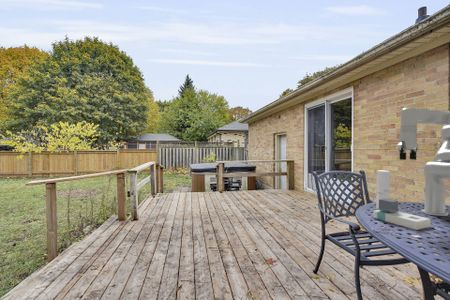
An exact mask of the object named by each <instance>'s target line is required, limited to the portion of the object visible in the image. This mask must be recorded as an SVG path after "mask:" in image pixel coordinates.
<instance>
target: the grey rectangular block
mask: <svg viewBox="0 0 450 300" xmlns="http://www.w3.org/2000/svg"><path fill="white" fill-rule="evenodd" d="M379 210H381V211H385V212H387V213H394V212H398V211H399V200H396V199H390V198H389V199H386V198H385V199H379Z"/></svg>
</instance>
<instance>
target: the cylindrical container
mask: <svg viewBox="0 0 450 300" xmlns="http://www.w3.org/2000/svg"><path fill="white" fill-rule="evenodd" d="M390 187H391V171H390V170H381V169H380V170H379V169H378V170H376V196H375V197H376V199H375V207H376V208H375V210H379V199H385V198H386V199H390V197H391V196H390V193H391V192H390V191H391V190H390Z"/></svg>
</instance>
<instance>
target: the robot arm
mask: <svg viewBox="0 0 450 300" xmlns="http://www.w3.org/2000/svg"><path fill="white" fill-rule="evenodd" d="M418 124H424V125H441V126H443V127H442V128H441V129H440V137H441V141H442V145H441V146H440V147H439V148H438V151H437V152H436V154H435V155H434V161H428V162H426V163H425V164H424V165H423V173H424V174H423V175H424V183H425V186H424V208H422V209H420V211H421V212H422V213H423V214H425V215H431V216H436V217H437V216H438V217H448V216H449V212H446V210H448V207H447V206H446V188H447V187H446V186H447V185H446V183H445V181H444V180H443V179H447V180H450V110H440V109H429V108H428V107H427V108H426V107H419V108H416V107H404V108H401V111H400V133H399V136H398V137H399V138H398V144H397V148H398V154H399V160H400V161H401V160H402V161H406V160H407V150H409V151H410V152H409V160H415V161H416V160H417V153H418V147H419V144H418V135H417V132H418Z"/></svg>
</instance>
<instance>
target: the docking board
mask: <svg viewBox="0 0 450 300" xmlns="http://www.w3.org/2000/svg"><path fill="white" fill-rule="evenodd" d="M372 212H373V213H372V215H373V216H372V218H373V219H376V220H380V221H383V222H387V223H391V224H394V225H398V226H400V227H405V228H408V229H413V230H416V231H417V230H421V229H422V230H423V229H426V228H431V218H430V217H429V218H428V217H424V216H419V215H415V214H411V213H407V212H402V211H399V210H398V212H394V213H387V212H385V211H381V210H378V209H375V210H373V211H372Z"/></svg>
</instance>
